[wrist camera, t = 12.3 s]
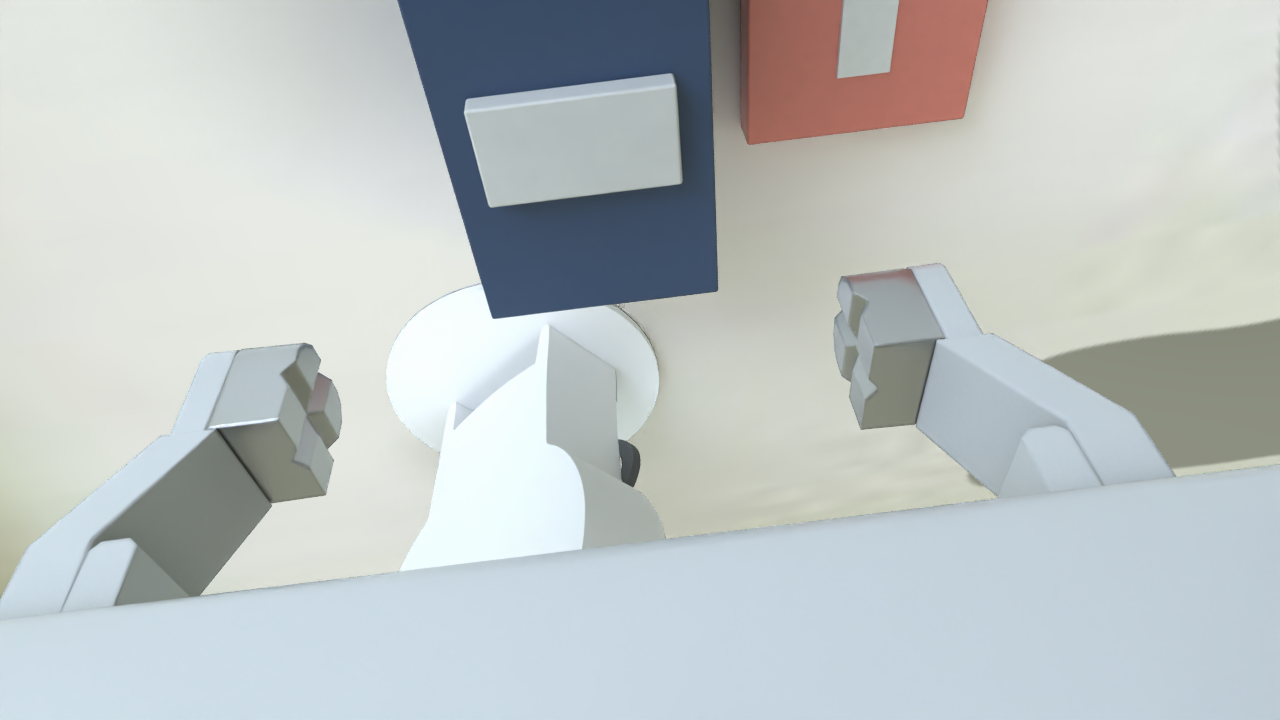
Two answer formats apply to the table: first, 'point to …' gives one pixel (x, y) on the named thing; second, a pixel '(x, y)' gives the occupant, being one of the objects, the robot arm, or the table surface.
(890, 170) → the table surface
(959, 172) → the table surface
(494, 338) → the panda figurine
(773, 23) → the tissue packet
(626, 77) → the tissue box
